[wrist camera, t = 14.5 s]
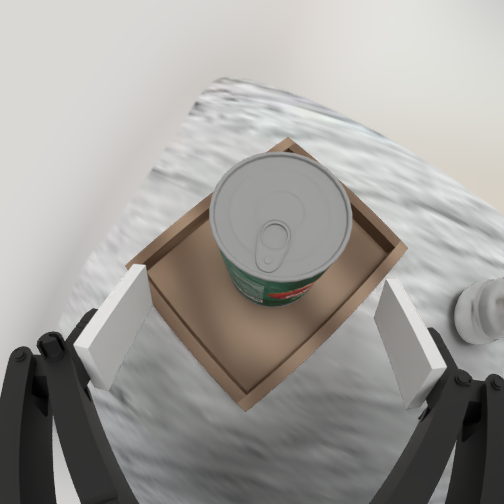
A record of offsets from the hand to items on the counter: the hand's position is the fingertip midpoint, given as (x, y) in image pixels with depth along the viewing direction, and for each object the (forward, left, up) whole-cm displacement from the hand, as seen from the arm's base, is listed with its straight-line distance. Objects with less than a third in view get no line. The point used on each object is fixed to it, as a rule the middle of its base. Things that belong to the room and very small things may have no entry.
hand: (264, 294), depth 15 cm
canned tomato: (-4, -3, -10) cm, 11 cm away
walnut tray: (-4, -3, -10) cm, 11 cm away
